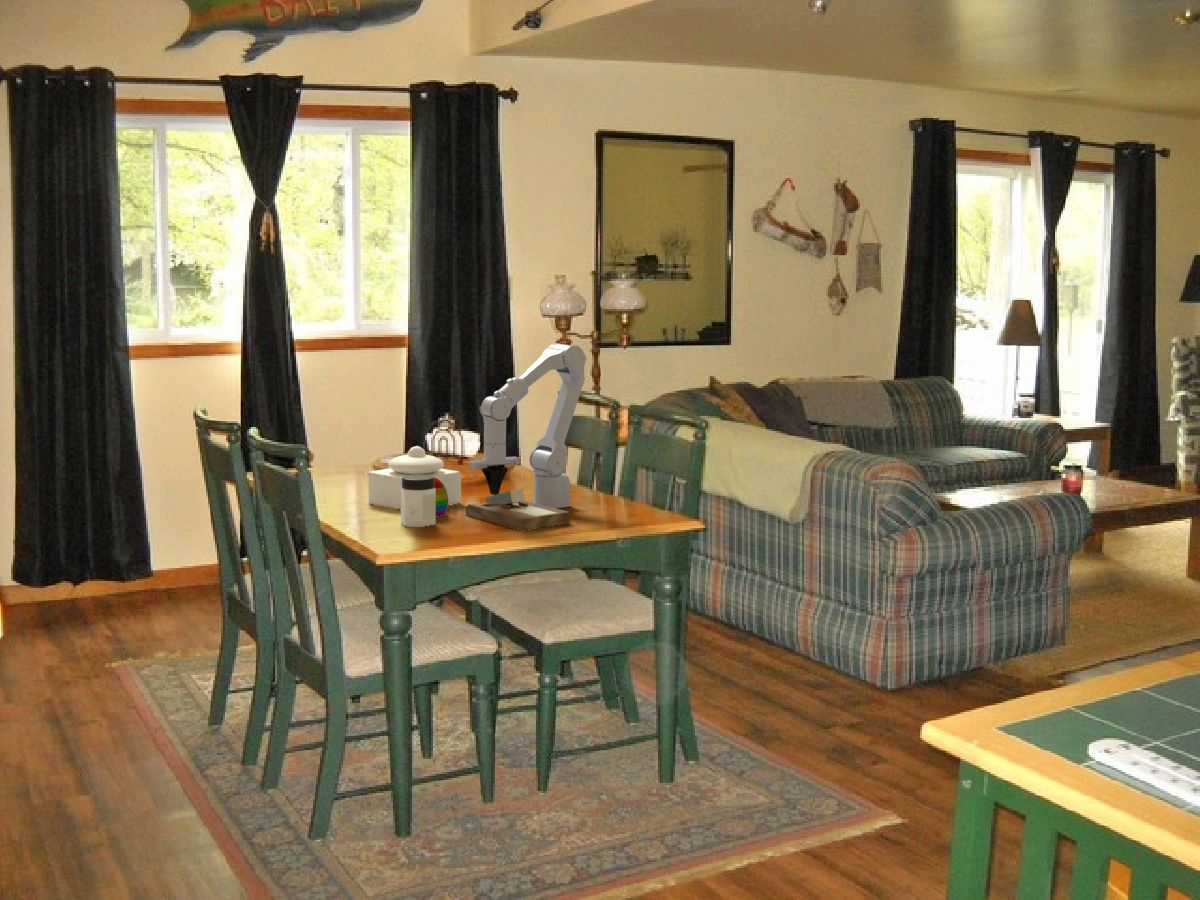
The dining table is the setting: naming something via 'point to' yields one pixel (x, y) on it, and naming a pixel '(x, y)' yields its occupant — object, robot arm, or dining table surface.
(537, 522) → the board
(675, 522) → the dining table surface
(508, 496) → the bar
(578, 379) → the robot arm
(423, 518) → the jar
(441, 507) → the decorative egg
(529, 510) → the pad
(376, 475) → the butter dish
